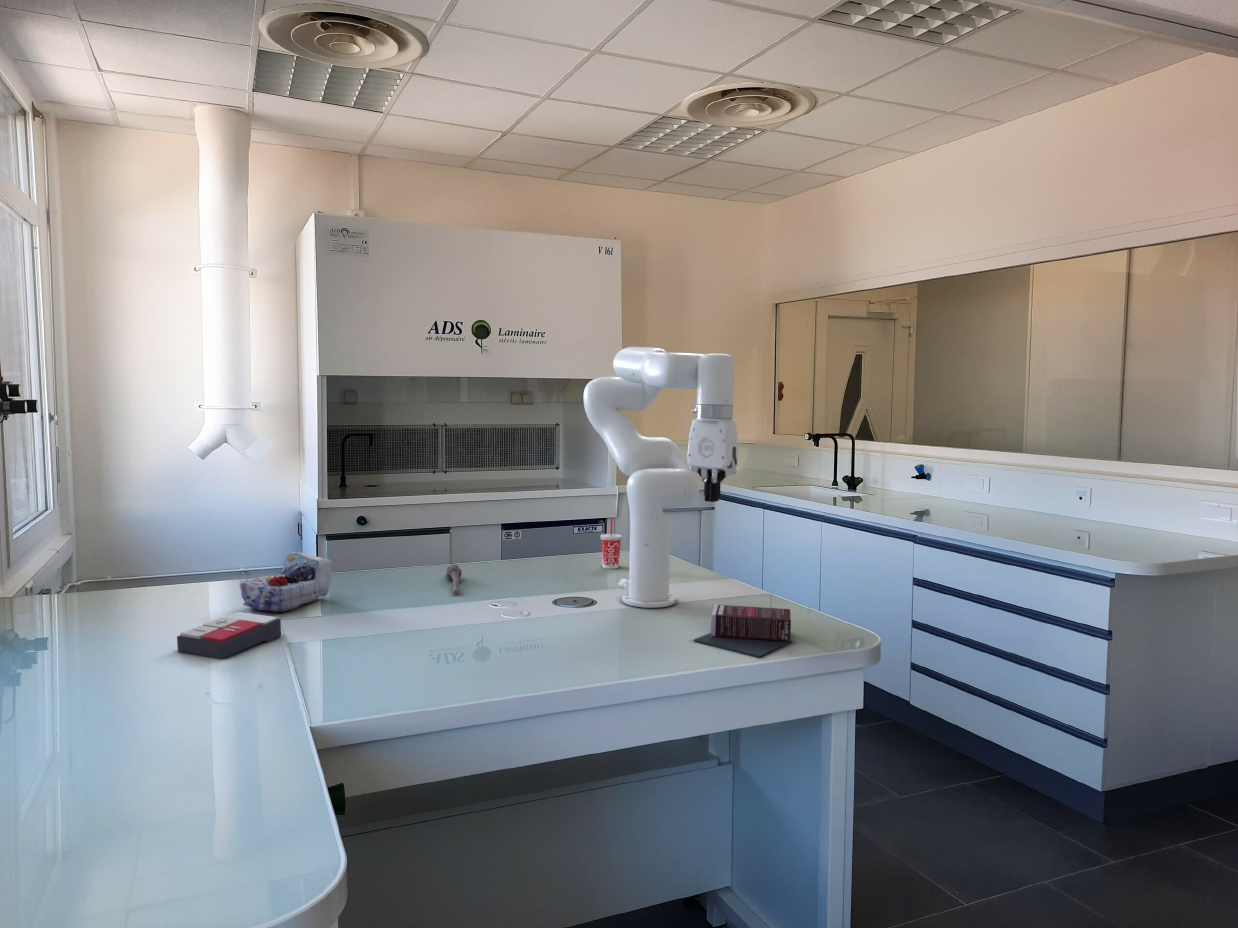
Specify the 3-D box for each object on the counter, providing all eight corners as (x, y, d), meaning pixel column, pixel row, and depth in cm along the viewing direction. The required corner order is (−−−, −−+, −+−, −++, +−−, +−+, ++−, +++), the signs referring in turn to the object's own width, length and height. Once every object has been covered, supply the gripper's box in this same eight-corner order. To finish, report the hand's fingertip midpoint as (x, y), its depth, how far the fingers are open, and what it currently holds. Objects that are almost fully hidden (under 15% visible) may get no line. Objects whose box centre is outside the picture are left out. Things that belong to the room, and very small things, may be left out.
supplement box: (710, 637, 169) (790, 642, 166) (711, 614, 169) (791, 618, 166) (714, 625, 178) (790, 630, 175) (714, 603, 177) (790, 607, 174)
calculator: (175, 632, 154) (237, 608, 168) (176, 654, 155) (238, 629, 169) (221, 639, 151) (281, 614, 165) (223, 662, 151) (282, 635, 165)
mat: (693, 641, 167) (693, 639, 167) (728, 627, 177) (728, 625, 177) (759, 657, 158) (759, 655, 158) (792, 642, 168) (792, 640, 168)
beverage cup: (597, 568, 233) (598, 518, 231) (601, 564, 239) (602, 515, 237) (619, 569, 232) (620, 519, 230) (623, 565, 238) (624, 516, 236)
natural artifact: (454, 579, 222) (463, 566, 222) (456, 596, 200) (466, 583, 200) (442, 571, 221) (451, 558, 221) (443, 588, 199) (453, 574, 199)
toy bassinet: (338, 551, 195) (277, 570, 176) (339, 596, 196) (278, 620, 177) (293, 546, 199) (228, 564, 180) (294, 590, 200) (230, 613, 182)
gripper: (674, 412, 175) (672, 499, 177) (736, 415, 166) (733, 506, 168) (694, 412, 181) (692, 496, 183) (755, 414, 172) (752, 503, 173)
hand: (711, 500), depth 175 cm, fingers closed
